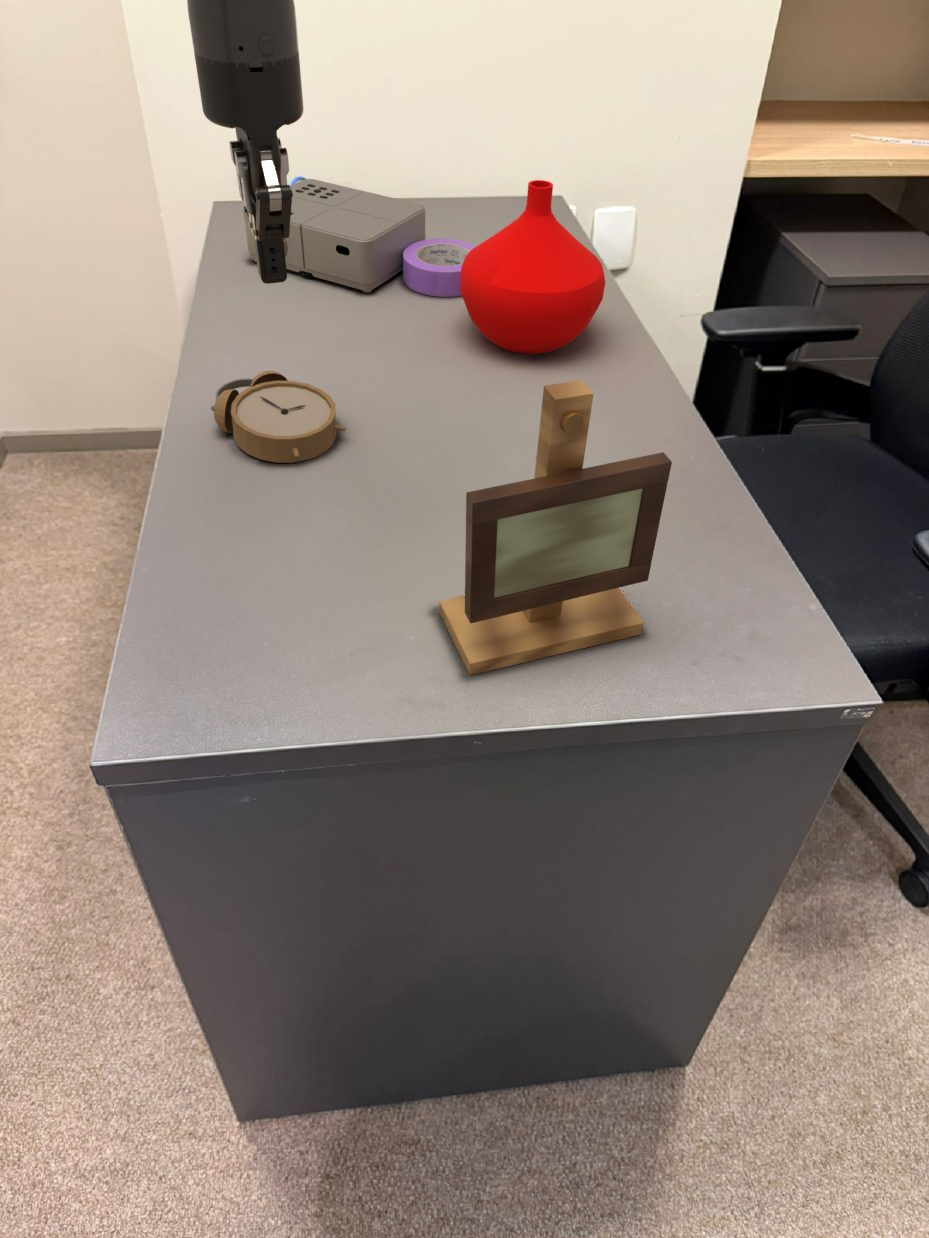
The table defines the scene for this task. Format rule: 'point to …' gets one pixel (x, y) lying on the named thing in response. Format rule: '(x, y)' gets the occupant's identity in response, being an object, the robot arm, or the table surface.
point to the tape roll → (435, 266)
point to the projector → (347, 234)
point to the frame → (562, 535)
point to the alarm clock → (277, 417)
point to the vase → (532, 281)
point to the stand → (559, 621)
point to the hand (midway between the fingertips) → (273, 279)
